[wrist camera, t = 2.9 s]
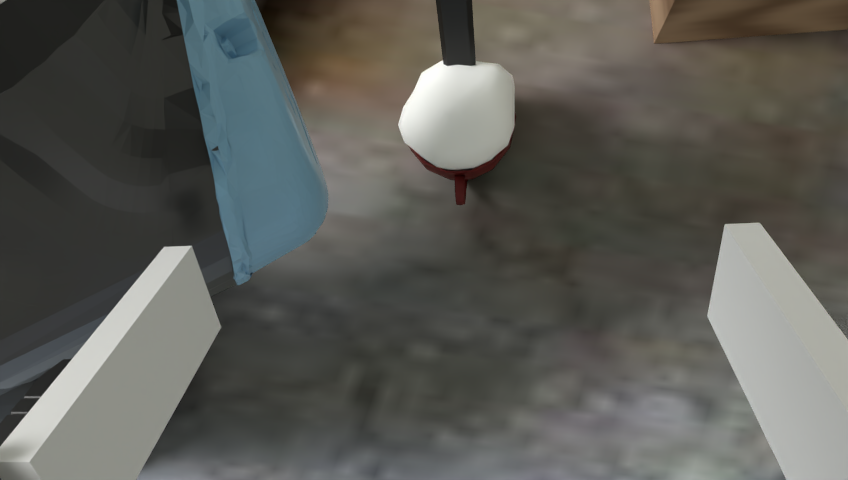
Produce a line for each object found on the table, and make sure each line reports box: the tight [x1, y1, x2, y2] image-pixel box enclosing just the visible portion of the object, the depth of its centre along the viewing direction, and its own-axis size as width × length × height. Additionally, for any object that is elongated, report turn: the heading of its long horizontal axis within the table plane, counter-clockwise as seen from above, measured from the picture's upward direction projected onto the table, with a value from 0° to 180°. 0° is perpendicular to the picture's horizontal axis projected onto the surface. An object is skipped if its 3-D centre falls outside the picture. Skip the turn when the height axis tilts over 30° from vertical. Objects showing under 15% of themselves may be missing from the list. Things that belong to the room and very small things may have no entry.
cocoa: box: [398, 0, 516, 205], centre depth 31 cm, size 10×6×12 cm, turn 156°
